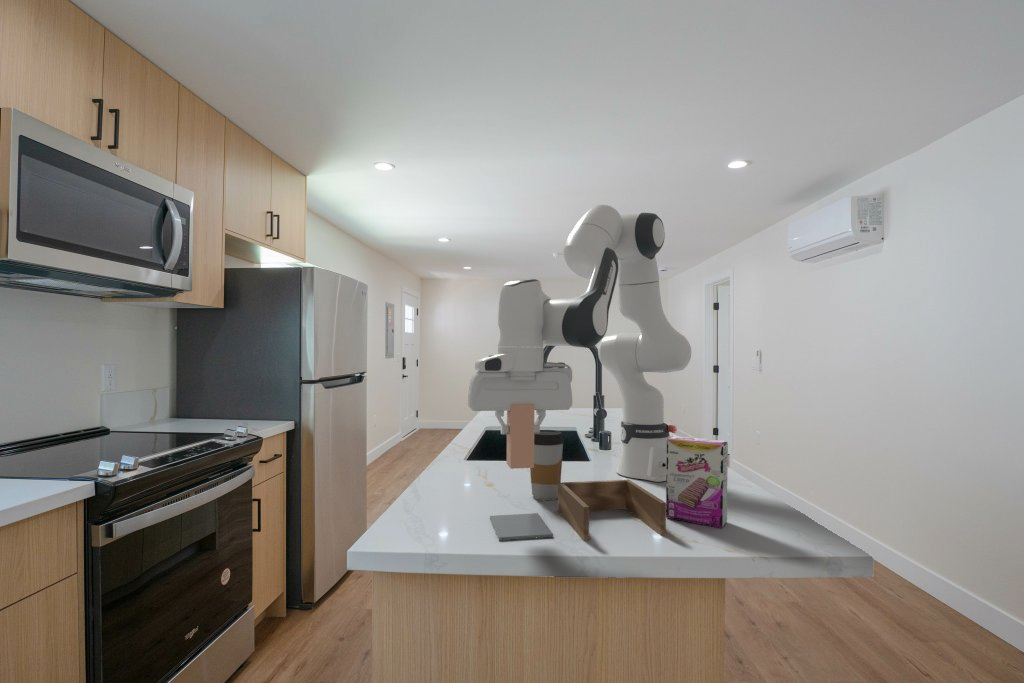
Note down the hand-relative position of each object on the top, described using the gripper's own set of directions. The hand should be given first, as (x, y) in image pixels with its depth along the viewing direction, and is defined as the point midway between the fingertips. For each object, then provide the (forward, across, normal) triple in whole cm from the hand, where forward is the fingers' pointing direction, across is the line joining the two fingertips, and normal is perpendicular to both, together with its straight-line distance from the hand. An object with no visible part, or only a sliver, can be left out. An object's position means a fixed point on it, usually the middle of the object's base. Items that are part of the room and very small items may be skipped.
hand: (520, 433), depth 100 cm
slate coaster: (+18, 0, 0) cm, 18 cm away
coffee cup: (+18, -10, -19) cm, 28 cm away
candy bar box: (+18, -36, +2) cm, 40 cm away
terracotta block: (+6, 0, 0) cm, 6 cm away
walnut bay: (+18, -18, 0) cm, 26 cm away
